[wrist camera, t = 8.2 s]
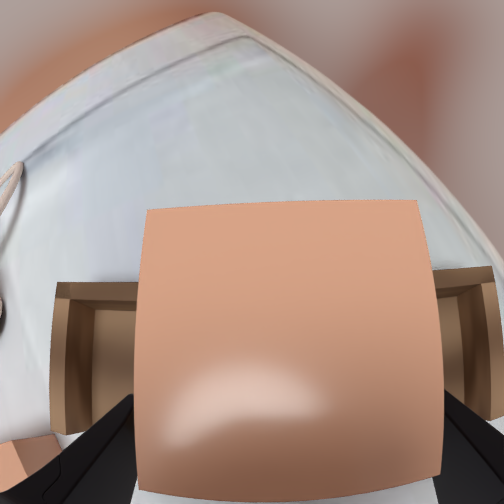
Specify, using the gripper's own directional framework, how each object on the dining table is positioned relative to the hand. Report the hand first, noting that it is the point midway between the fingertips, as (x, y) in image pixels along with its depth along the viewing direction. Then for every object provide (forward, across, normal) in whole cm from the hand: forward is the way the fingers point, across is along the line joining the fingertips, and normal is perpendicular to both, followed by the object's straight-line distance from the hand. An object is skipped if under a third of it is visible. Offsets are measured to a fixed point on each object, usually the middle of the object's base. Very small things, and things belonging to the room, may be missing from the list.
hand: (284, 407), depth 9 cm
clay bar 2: (+7, 0, +4) cm, 8 cm away
